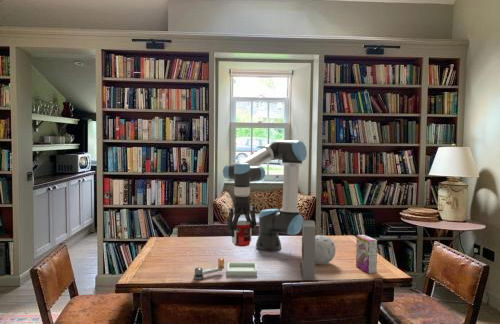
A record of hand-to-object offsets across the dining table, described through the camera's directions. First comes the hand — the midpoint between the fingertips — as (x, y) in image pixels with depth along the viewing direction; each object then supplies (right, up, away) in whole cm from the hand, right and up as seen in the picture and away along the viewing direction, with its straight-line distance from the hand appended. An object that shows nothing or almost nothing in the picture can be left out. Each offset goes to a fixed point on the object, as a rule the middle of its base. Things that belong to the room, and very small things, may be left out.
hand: (241, 242), depth 180 cm
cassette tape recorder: (+31, -16, -2) cm, 35 cm away
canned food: (0, -1, 0) cm, 1 cm away
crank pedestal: (-20, -15, -9) cm, 26 cm away
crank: (-15, -13, -5) cm, 21 cm away
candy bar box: (+62, -15, +6) cm, 64 cm away
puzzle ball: (+41, -15, +15) cm, 46 cm away
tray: (0, -15, +1) cm, 15 cm away
